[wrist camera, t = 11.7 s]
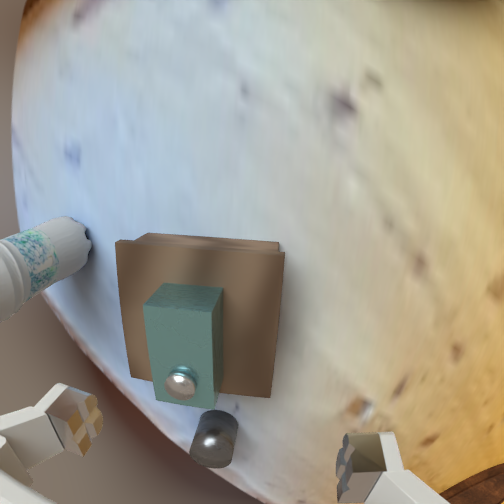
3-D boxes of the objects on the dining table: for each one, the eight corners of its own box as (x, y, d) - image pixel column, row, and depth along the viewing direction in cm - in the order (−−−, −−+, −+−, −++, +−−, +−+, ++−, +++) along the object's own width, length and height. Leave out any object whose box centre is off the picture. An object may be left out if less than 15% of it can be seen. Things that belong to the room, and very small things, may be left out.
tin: (238, 412, 37) (231, 447, 31) (237, 437, 38) (231, 470, 32) (199, 407, 37) (187, 440, 31) (200, 432, 39) (191, 464, 33)
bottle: (56, 266, 34) (-69, 342, 15) (51, 210, 32) (-91, 262, 13) (100, 272, 33) (-28, 368, 14) (96, 212, 31) (-57, 274, 12)
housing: (223, 287, 26) (208, 318, 21) (223, 377, 28) (212, 416, 23) (163, 282, 26) (138, 310, 21) (171, 370, 29) (153, 406, 23)
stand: (284, 237, 30) (284, 255, 24) (272, 362, 34) (270, 397, 28) (143, 227, 31) (115, 242, 26) (151, 347, 35) (131, 376, 29)
